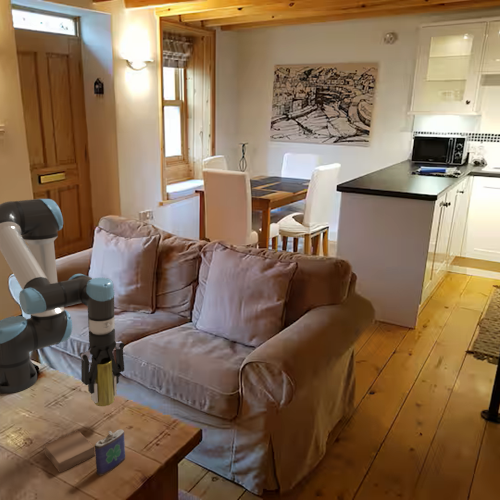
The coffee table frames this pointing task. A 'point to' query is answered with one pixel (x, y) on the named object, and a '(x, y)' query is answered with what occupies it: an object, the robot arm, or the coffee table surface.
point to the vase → (104, 383)
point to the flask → (110, 452)
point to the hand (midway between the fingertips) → (104, 396)
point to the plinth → (69, 451)
